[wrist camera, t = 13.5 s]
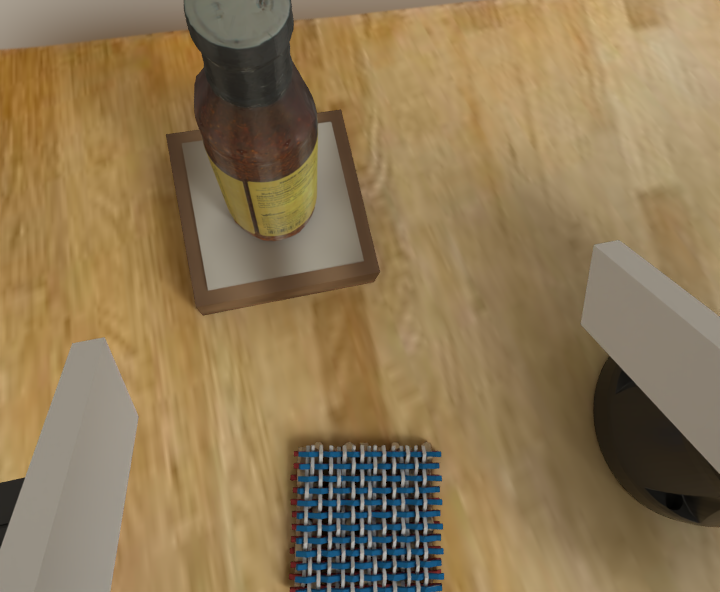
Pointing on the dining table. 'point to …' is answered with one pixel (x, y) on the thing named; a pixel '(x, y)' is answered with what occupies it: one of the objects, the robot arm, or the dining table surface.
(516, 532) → the dining table surface
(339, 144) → the walnut plinth
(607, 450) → the robot arm
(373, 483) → the woven mat
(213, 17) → the sauce bottle
